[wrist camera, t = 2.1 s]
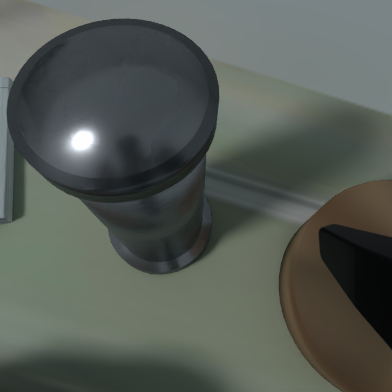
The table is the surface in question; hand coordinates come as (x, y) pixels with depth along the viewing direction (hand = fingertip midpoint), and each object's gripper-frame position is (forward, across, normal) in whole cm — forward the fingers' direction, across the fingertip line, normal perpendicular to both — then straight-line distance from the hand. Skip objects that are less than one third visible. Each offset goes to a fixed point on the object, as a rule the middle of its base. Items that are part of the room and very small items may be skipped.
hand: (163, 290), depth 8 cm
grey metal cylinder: (+12, 0, +4) cm, 13 cm away
